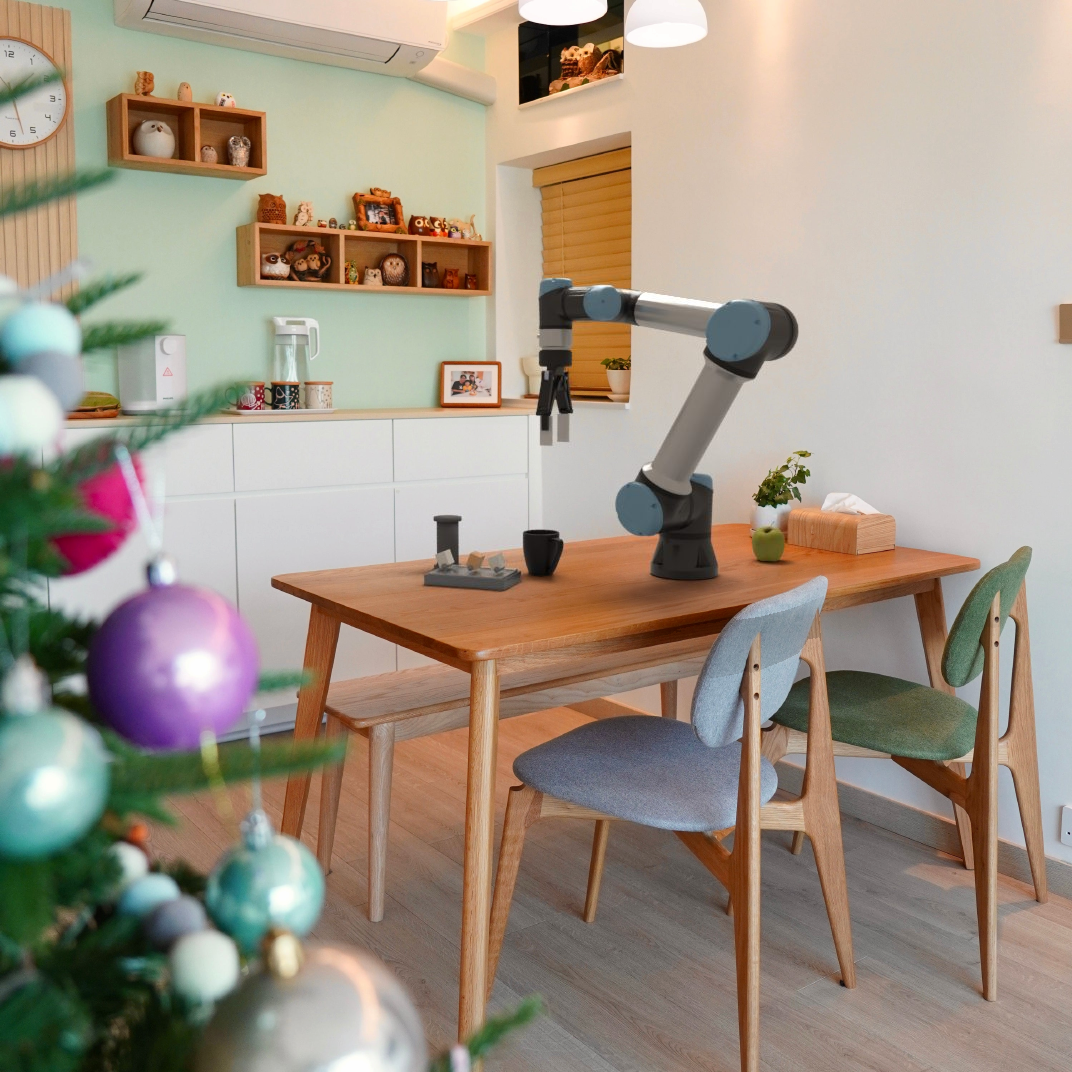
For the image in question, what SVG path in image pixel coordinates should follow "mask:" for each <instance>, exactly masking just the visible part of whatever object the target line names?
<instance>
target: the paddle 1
mask: <svg viewBox="0 0 1072 1072" xmlns="http://www.w3.org/2000/svg"><path fill="white" fill-rule="evenodd" d="M434 556H435V559H436V563H437V562H438V565H439V567H440V568H441V567H442V569H446V568H448V567H451V566H452V565H453V563H454V559H453V557H452V554H451V551H450V549H449V550H446V551H443V552H441V553H438V554H437V553H436V554H435V555H434Z"/></svg>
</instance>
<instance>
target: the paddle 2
mask: <svg viewBox="0 0 1072 1072" xmlns="http://www.w3.org/2000/svg"><path fill="white" fill-rule="evenodd" d="M486 559H487V561H488V565H489V567H491V570H492V571H494V572H496V573H498V572H500V571H502V570H504V569H505V568H506V567H507V565H508V564H507V563H506V560H505V558H504V555H503V552H499V553H495V554H493V555H491V556H489V557H487V558H486Z"/></svg>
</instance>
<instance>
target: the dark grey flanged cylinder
mask: <svg viewBox="0 0 1072 1072" xmlns="http://www.w3.org/2000/svg"><path fill="white" fill-rule="evenodd" d="M432 520H433V521H434V522H436V554H438V553H441V552H443V551H446V550H449V549H450V551H451V554H452V557H453V559H454V563H453V564H454V565H462V564H461V563H460V557H459V556H460V553H459V552H460V549H459V548H460V546H459V545H460V543H459V542H460V539H459V537H460V534H459V530H460V529H459V527H460V526H459V525H460V523H459V522H462V521H463V518H462V516H461V515H458V514H457V515H454V514H440V515H439V514H438V515H434V516H433V519H432ZM438 568H440V567H439V565H438V562H437V561H436V564H433V569H434V570H436V569H438Z"/></svg>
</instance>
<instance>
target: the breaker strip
mask: <svg viewBox="0 0 1072 1072" xmlns="http://www.w3.org/2000/svg"><path fill="white" fill-rule="evenodd" d="M467 567H468V566H466V564H461V565H454V564H453V565H452V566H451V567H448V568H446V569H442V567H441V568H438V569H436V570H435V569H434V570H431V571H429V572H427V573H425V574H423V585H424V586H434V587H435V586H438V587H450V588H451V587H452V588H464V589H465V588H467V589H478V590H493V591H505V590H507V589H509V588H511V587H513V586H514V585H516V584H518V583H520V582H521V581H522V570H518V568H514V567H511V568H510V567H505V569H504V570H502V571H500V572H498V573H496V572H494V571H492V570H491V567H490V566H482V565H481V568H479V569H477V570H472V571H469V570H468V569H467Z"/></svg>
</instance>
